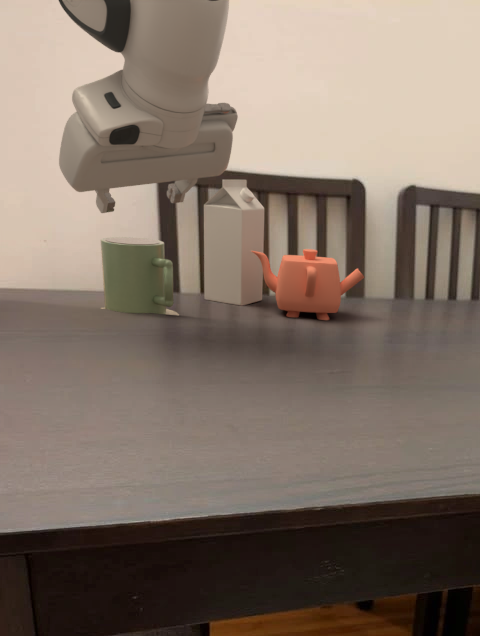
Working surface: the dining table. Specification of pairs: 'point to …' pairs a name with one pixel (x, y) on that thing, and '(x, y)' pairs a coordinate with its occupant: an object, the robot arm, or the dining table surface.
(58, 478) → the dining table surface
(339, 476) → the dining table surface
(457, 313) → the dining table surface
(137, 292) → the mug
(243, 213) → the milk carton
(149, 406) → the dining table surface
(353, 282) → the teapot
